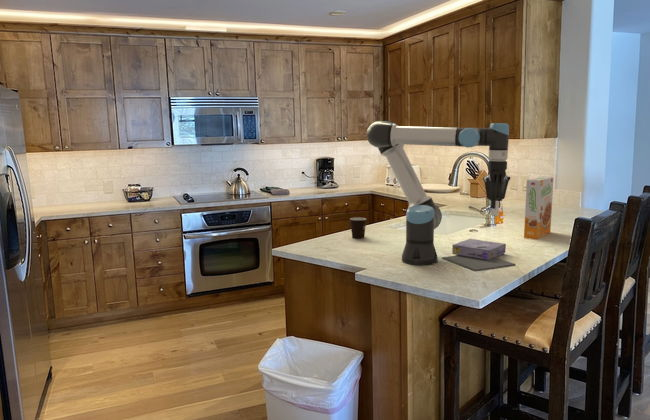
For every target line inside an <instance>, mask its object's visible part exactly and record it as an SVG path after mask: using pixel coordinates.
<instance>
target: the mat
mask: <svg viewBox="0 0 650 420" xmlns="http://www.w3.org/2000/svg"><path fill="white" fill-rule="evenodd" d="M441 259H442V260H445V261H447V262H450V263H452V264H455V265H458V266H459V267H463V268H465V269H468V270H471V271H473V272H479V271H486V270H491V269H492V270H493V269H500V268H505V267H506V268H507V267H513V266H516V263H514V262H511V261H508V260H505V259H502V258H499V257H495V258H493V259H490V260H486V259H480V258H474V257H467V256H461V255H451V256H450V255H448V256H442V257H441Z"/></svg>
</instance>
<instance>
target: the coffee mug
mask: <svg viewBox="0 0 650 420" xmlns="http://www.w3.org/2000/svg"><path fill="white" fill-rule="evenodd" d="M349 220H350V221H349V222H350V230H351V238H352V239H354V238H355V239H356V240H362V239H365V235H366V234H365V233H366V227H367V218H365V217H351V218H349ZM361 238H362V239H361ZM355 239H354V240H355Z"/></svg>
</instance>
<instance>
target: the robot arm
mask: <svg viewBox="0 0 650 420" xmlns="http://www.w3.org/2000/svg"><path fill="white" fill-rule="evenodd" d="M509 139H510V125H509V124H508V123H506V122H504V123H503V122H497V123H496V122H495V123H494V122H493V123H490V125H489V127H446V126H445V127H443V126H442V127H441V126H440V127H439V126H409V125H408V126H406V125H405V126H404V125H403V126H402V125H400V126H399V125H398V124H397V123H395V122H393V121H391V120H384V121H383V120H377V121H374V122H371V124H370V125H369V126H368V128H367V130H366V140H367V141H368V143H369V144H370V146H373V147H374V148H377V150H378V151H379V153H380V155H381V156H383V157H385V158H386V160H387V162H388V163H389V165H390V168H391V171H392V172H393V173H394V176H395V178H396V180H397V182H398V184H399V186H400V188H401V190H402V192H403V195H404V197H405V198H406V200H407V202H408V208H407V210H406V214H405V221H406V223H405V226H406V227H405V235H406V236H405V238H406V239H405V246H404V248H403V251H402V254H401V262H403V263H405V264H409V265H413V266H430V265H435V264H437V263H438V254H437V250H436V248H435V244H434V241H435V240H434V239H435V237H434V236H435V235H434V234H435V230H436V229H438V227H439V226H440V225H441V222H442V218H443V216H442V215H443V213H442V211H441V209H440V208H439V207H438V205H436V204H435V201H434V200H433V198H432V197H431V196H429V195H427V193H426V191H425V190H424V187H423V186H422V183H421V181H420V179H419V177H418V175H417V173H416V172H415V169H414V168H413V165H412V163H411V161H410V160H409V157H408V155H407V153H406V151H405V149H404V146H405V145H406V146H407V145H409V146H411V145H412V146H413V145H414V146H416V145H417V146H438V147H439V146H441V147H464V148H474V147H477V146H478V147H488V160H489V161H487V169H488V173H487V175H486V177H485V176H484V177H483V178H482V180H483V182H484V188H485V194H486V199H487V200H489V201H490V209H491V212H490V215H491V217H499V211H500V210H499V209H500V208H501V202H502V201H503V200H504V199H505V198H506V193H507V189H508V187H509V182H510V180H511V176H508V175H507V172H506V170H507V169H508V161H507V160H508V157H509V156H508V153H509Z"/></svg>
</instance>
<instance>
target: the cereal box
mask: <svg viewBox="0 0 650 420" xmlns="http://www.w3.org/2000/svg"><path fill="white" fill-rule="evenodd" d="M525 188H526V190H525V208H524V209H525V211H524V228H523V229H524V230H523V231H524V233H523V238H524V239H529V238H531V239H532V240H538V239H540V238H542V237H543V235H544V236H545V234H546V235H548V234H550V233H551V227H552V208H553V195H554V194H553V191H554V176H541V175H540V176H537V177H533V178H529V179H528V178H527V179H526V187H525ZM549 232H550V233H549ZM547 233H548V234H547ZM541 236H542V237H541ZM539 237H540V238H539ZM531 239H530V240H531Z"/></svg>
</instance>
